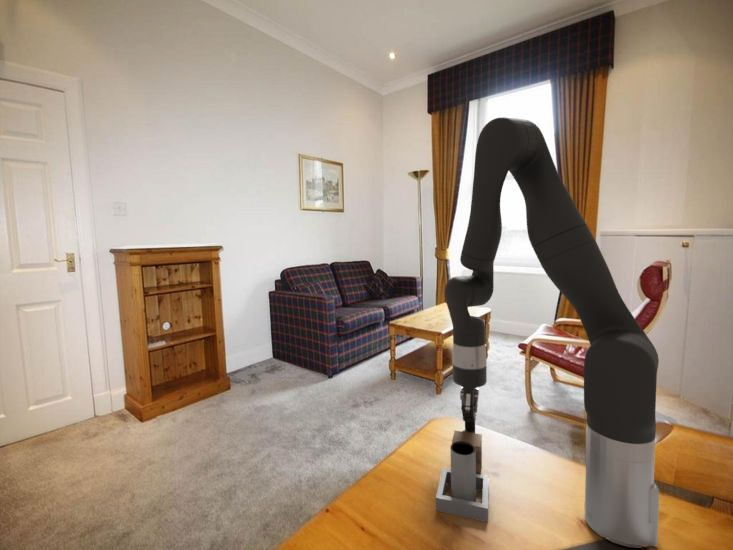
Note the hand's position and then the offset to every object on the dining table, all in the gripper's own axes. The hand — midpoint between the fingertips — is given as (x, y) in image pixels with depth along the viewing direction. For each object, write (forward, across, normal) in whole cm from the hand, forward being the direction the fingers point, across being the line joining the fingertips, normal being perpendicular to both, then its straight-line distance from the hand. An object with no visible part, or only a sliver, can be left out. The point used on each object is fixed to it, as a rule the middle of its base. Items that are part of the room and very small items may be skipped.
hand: (470, 434), depth 82 cm
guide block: (+4, -7, 0) cm, 8 cm away
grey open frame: (+4, -17, 0) cm, 17 cm away
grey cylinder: (+4, -17, 0) cm, 17 cm away
